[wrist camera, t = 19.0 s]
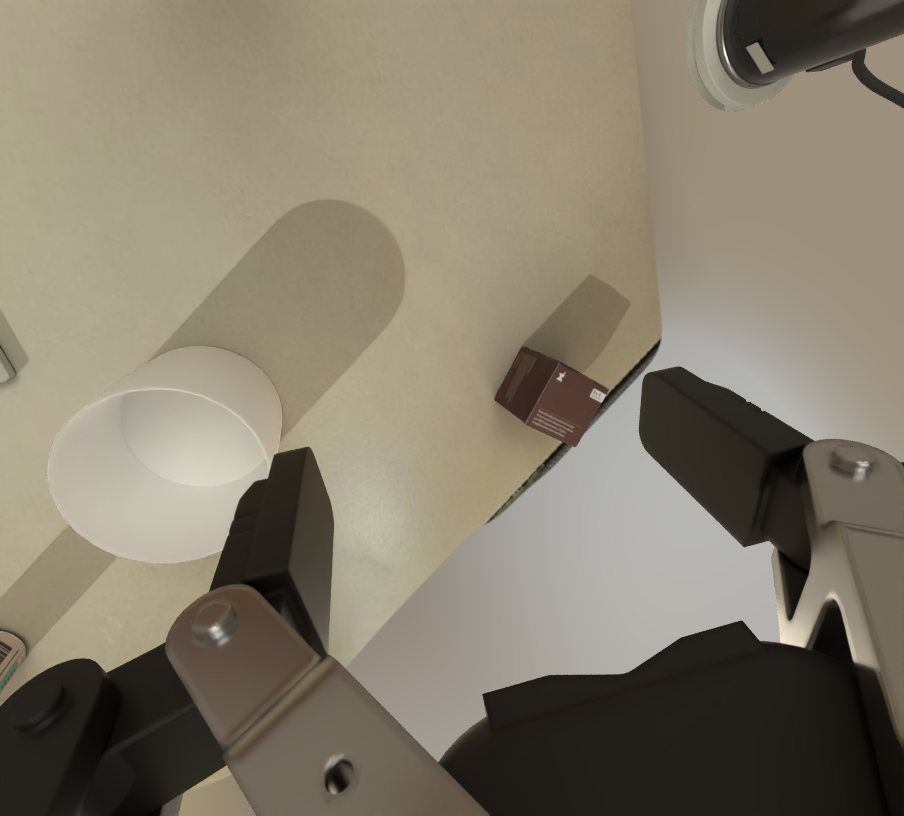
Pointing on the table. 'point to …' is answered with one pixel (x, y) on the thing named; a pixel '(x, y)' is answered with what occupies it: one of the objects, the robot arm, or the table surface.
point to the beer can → (10, 656)
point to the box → (550, 396)
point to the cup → (167, 455)
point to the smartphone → (5, 368)
